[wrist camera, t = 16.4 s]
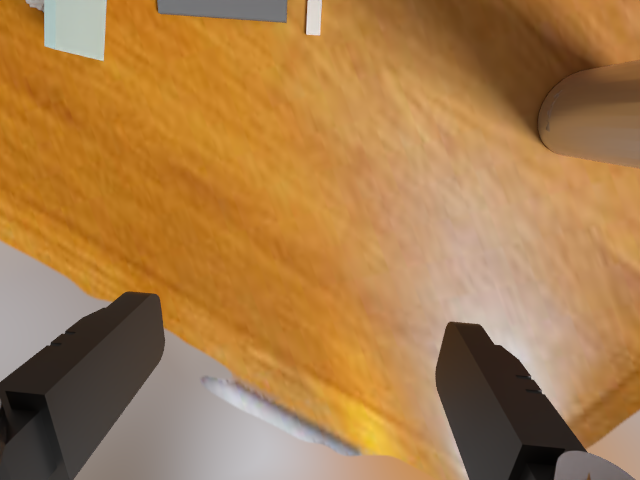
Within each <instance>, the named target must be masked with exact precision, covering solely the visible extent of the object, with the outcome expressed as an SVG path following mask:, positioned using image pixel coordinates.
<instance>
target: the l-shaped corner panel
mask: <svg viewBox="0 0 640 480" xmlns="http://www.w3.org/2000/svg"><path fill="white" fill-rule="evenodd" d="M106 2H107V0H26V3H28V4H29V5H30V7H33V8H37V9H38V10H40V11H41V10H42V11H43V12H44V38H45V46H46V47H49V48H53V49H56V50H60V51H64V52H68V53H72V54H76V55H81V56H85V57H89V58H93V59H97V60H101V61H104V42H105V22H106Z"/></svg>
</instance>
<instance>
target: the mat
mask: <svg viewBox="0 0 640 480" xmlns="http://www.w3.org/2000/svg"><path fill="white" fill-rule="evenodd" d="M157 2H158V13H160V14H170V15H184V16H198V17H212V18H227V19H241V20H255V21H270V22H284V23H286V22H287V0H157Z"/></svg>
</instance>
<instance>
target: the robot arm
mask: <svg viewBox="0 0 640 480" xmlns="http://www.w3.org/2000/svg"><path fill="white" fill-rule="evenodd" d="M538 131H539V135H540V138H541V140H542V141H543V143H544V144H545V146H546V147H547V148H548V149H550V150H551V151H553V152H555V153H557V154H560V155H564V156H569V157H575V158H581V159H586V160H592V161H598V162H604V163H610V164H616V165H622V166H628V167H634V168H639V169H640V60H636V61H631V62H626V63H620V64H615V65H609V66H604V67H599V68H594V69H588V70H583V71H580V72H577V73H574V74H572V75H570V76H568V77H566V78H565V79H563V80H562V81H561V82H559V83H558V84H557V85H556V86H555V87H554V88H553V89H552V90H551V91H550V92H549V94H548V95H547V97H546V98H545V100H544V102H543V104H542V106H541V109H540V112H539V117H538ZM164 346H165V337H164V329H163V320H162V311H161V303H160V299H159V297H158V295H156V294H151V293H140V292H125V293H124V294H122V295H121V296H120V297H119V298H117V299H116V300H115V301H114V302H112V303H111V304H110V305H109V306H108V307H106V308H102V309H100V310H98V311H96V312H94V313H92V314H89V315H88V316H85V317H83V318H82V319H80V320H79V321H78V322H77V323H75V324H74V325H73V326H71V327H70V328H69V329H68V330H66V331H65V334H61V335H60V336H59V337H57V338H56V339H55V340H53V341H52V342H51V345H50V346H46V347H45V348H43V349H42V350H41V351H39V352H38V353H37V354H36V355H34V356H33V357H32V358H30V359H29V360H28V361H27V362H25V363H24V364H23V365H22V366H20V367H19V368H18V369H16V370H15V371H14V372H13V373H11V374H10V375H9V376H7V377H6V378H5V379H4V380H2V381H1V382H0V480H73V479H74V478H75V477H76V475H77V474H78V472H79V471H80V470H81V468H82V467H83V466H84V464H85V463H86V461H87V460H88V459H89V457H90V456H91V455H92V453H93V452H94V451H95V449H96V448H97V446H98V445H99V444H100V442H101V441H102V440H103V438H104V437H105V436H106V434H107V433H108V431H109V430H110V429H111V427H112V426H113V425H114V423H115V422H116V421H117V419H118V418H119V417H120V415H121V414H122V412H123V411H124V410H125V408H126V407H127V405H128V404H129V403H130V401H131V400H132V399H133V397H134V396H135V395H136V393H137V392H138V390H139V389H140V388H141V386H142V385H143V384H144V382H145V381H146V380H147V378H148V377H149V375H150V374H151V373H152V371H153V370H154V369H155V367H156V366H157V365H158V363H159V361H160V360H161V357H162V354H163V351H164ZM436 387H437V391H438V394H439V397H440V399H441V402H442V405H443V408H444V410H445V413H446V416H447V419H448V421H449V424H450V427H451V430H452V433H453V435H454V438H455V441H456V444H457V446H458V449H459V452H460V455H461V457H462V460H463V463H464V466H465V469H466V471H467V474H468V477H469V480H635V479H634V478H633V477H632V476H630V475H629V474H628V473H627V472H625V471H624V470H622V469H621V468H619V467H618V466H616V465H614V464H613V463H611V462H609V461H607V460H605V459H603V458H601V457H599V456H596V455H594V454H591V453H588V452H587V451H586V450H585V448H584V447H583V446H582V444H581V443H580V441H579V440H578V439H577V437H576V436H575V435H574V433H573V432H572V431H571V429H570V428H569V427H568V425H567V424H566V423H565V421H564V420H563V419H562V417H561V416H560V415H559V413H558V412H557V411H556V409H555V408H554V406H553V405H552V404H551V402H550V401H549V400H548V398H547V397H546V396H545V395H544V394H542V390H541V389H540V388H539V386H538V385H537V384H536V382H535V381H534V380H532V379H531V376H530V374H529V373H528V371H527V370H526V369H525V367H524V366H523V365H522V363H521V362H520V361H519V360H518V359H517V358H516V357H515V356H513V355H512V354H511V353H510V352H508V351H507V350H506V349H505V348H503V347H502V346H501V345H494V343H493V342H492V340H491V339H490V337H489V336H488V335H487V333H486V332H485V330H484V329H483V327H482V326H481V325H479V324H471V323H460V322H449V323H448V324H447V326H446V329H445V333H444V337H443V341H442V345H441V349H440V354H439V358H438V362H437V366H436Z"/></svg>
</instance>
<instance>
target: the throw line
mask: <svg viewBox="0 0 640 480" xmlns="http://www.w3.org/2000/svg"><path fill="white" fill-rule="evenodd" d="M321 10H322V0H308V6H307V27H306V35H318V36H320V26H321Z"/></svg>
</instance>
